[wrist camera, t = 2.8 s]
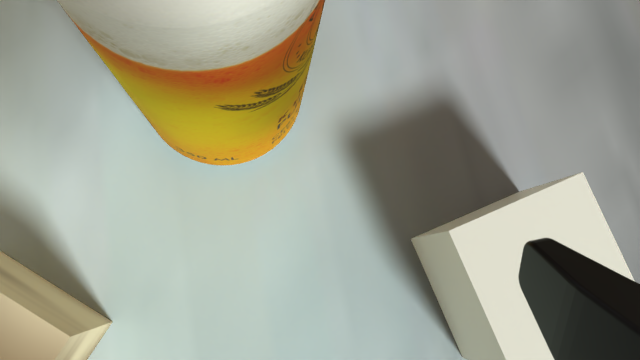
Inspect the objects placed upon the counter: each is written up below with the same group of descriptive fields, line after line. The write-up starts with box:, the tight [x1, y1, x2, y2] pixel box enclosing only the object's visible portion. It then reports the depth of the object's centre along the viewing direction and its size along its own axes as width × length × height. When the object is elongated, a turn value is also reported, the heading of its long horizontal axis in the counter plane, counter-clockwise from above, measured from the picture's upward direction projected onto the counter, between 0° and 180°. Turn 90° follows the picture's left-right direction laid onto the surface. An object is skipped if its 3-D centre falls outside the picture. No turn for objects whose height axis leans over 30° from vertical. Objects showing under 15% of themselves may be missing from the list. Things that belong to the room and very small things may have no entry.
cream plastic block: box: [411, 172, 634, 360], centre depth 21 cm, size 5×5×5 cm
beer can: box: [57, 0, 325, 165], centre depth 16 cm, size 6×6×15 cm
